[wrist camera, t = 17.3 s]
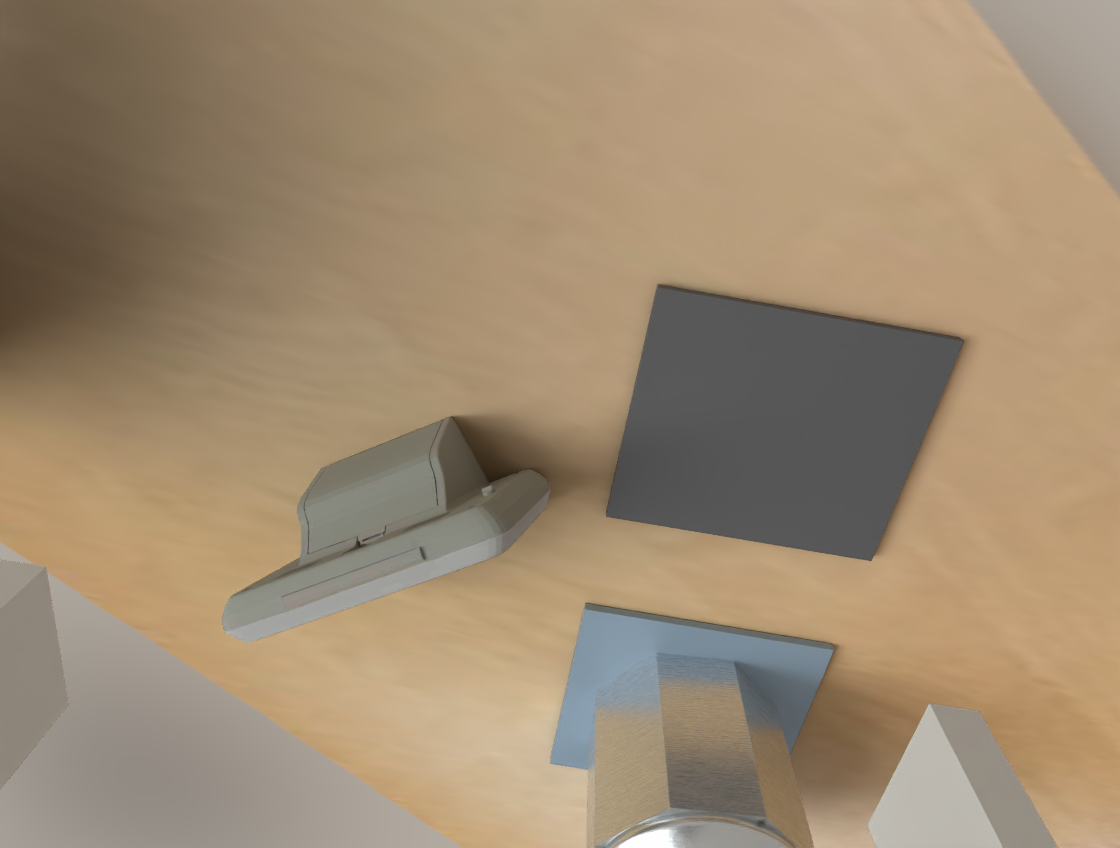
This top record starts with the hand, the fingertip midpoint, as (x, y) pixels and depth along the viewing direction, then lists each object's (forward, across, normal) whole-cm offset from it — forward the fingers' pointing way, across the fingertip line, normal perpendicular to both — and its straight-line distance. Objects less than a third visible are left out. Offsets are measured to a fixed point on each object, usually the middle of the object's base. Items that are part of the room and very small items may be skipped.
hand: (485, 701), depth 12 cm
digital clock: (+31, -6, -16) cm, 35 cm away
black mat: (+30, +13, -8) cm, 34 cm away
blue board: (+30, +13, -29) cm, 44 cm away
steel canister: (+30, +13, -30) cm, 45 cm away
